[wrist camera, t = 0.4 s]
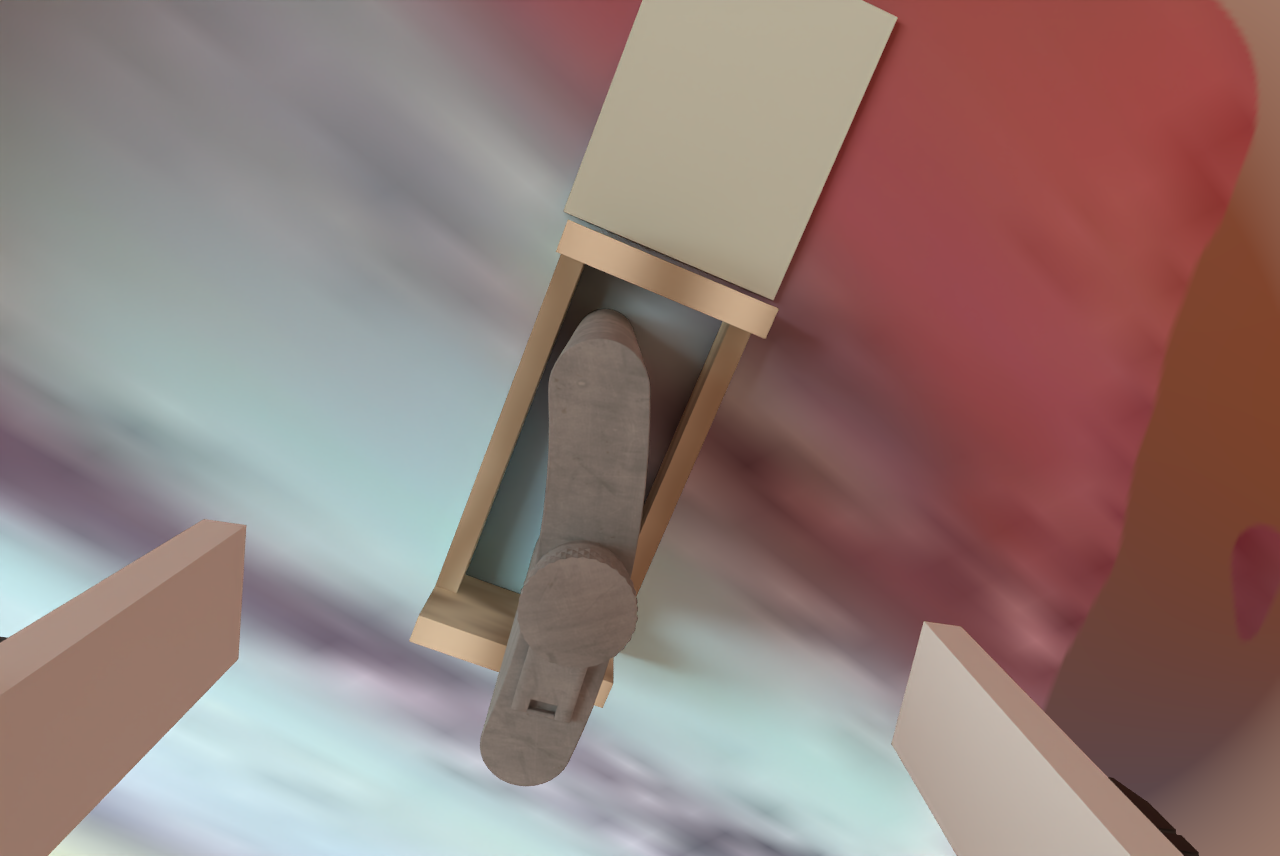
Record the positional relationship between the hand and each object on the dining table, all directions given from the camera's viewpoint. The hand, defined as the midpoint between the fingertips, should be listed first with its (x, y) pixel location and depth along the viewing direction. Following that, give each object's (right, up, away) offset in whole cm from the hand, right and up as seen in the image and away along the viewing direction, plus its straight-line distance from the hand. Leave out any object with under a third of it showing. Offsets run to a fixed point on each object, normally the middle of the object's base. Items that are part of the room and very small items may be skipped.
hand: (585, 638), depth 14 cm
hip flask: (-2, +3, +27) cm, 27 cm away
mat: (+6, +20, +24) cm, 31 cm away
